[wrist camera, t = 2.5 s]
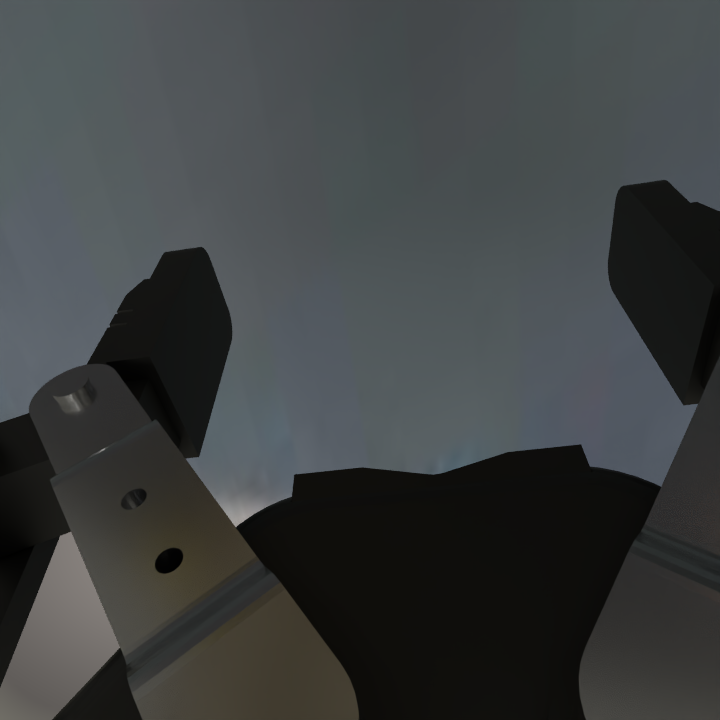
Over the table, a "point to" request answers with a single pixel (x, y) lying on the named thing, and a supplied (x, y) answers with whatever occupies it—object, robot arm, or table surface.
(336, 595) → the robot arm
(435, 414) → the table surface
